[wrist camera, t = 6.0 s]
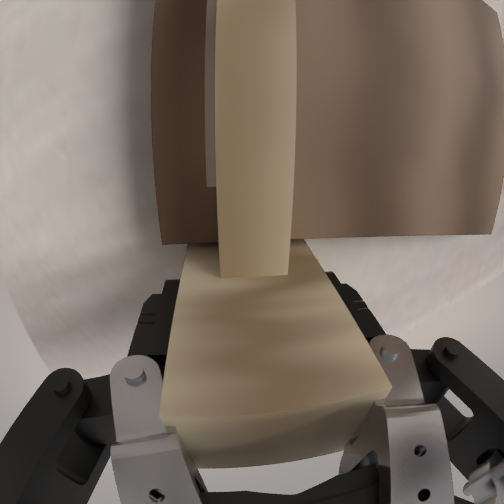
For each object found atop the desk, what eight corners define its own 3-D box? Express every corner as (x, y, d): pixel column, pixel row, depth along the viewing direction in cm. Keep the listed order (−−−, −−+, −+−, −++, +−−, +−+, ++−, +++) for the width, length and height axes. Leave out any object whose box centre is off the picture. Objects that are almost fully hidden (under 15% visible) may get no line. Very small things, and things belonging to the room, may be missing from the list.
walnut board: (475, 15, 7) (497, 12, 5) (469, 221, 13) (492, 235, 11) (176, -62, 5) (170, -85, 3) (171, 224, 11) (162, 245, 9)
